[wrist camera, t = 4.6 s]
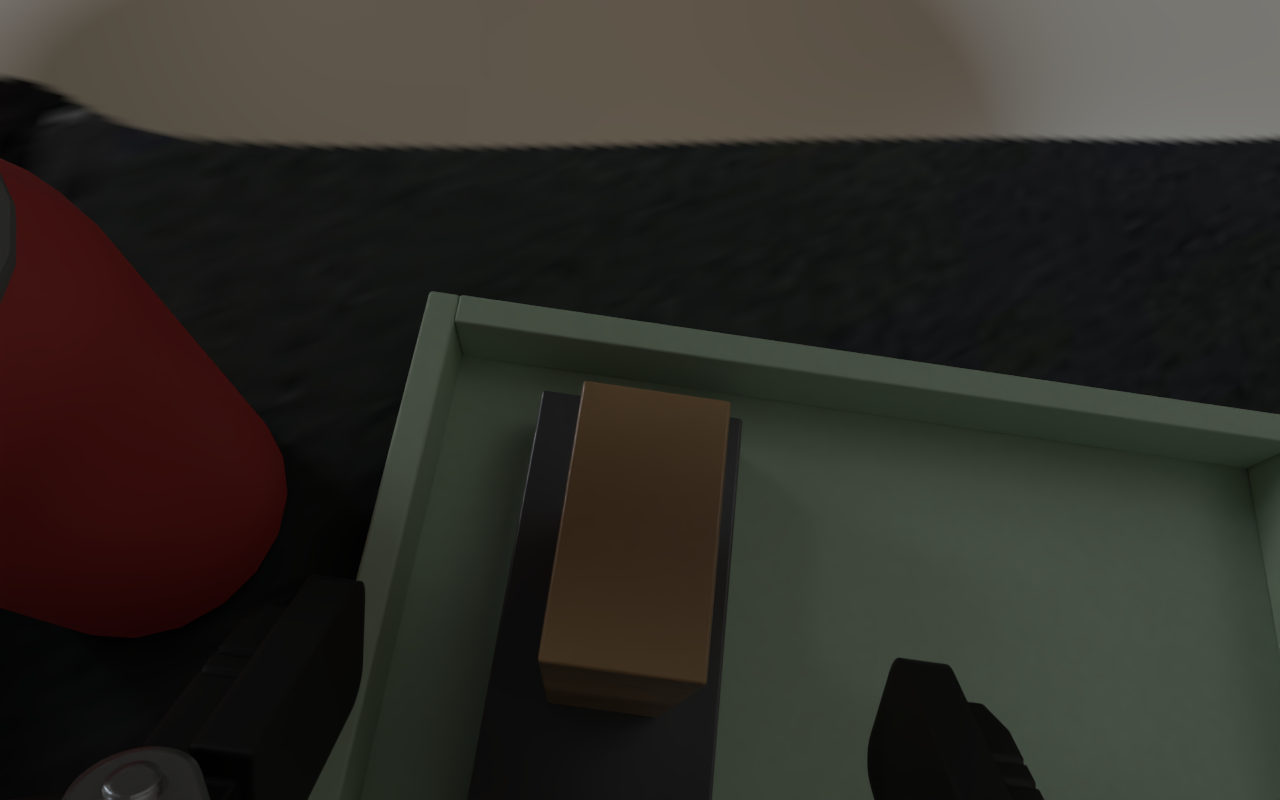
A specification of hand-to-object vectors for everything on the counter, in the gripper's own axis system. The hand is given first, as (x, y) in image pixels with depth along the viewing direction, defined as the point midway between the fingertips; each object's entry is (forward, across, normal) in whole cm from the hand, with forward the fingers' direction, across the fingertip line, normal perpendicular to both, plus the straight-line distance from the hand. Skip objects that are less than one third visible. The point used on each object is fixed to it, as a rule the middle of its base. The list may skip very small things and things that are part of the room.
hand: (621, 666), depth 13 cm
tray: (+8, -6, +5) cm, 11 cm away
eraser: (+7, 0, +4) cm, 8 cm away
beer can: (+9, +12, +4) cm, 15 cm away
